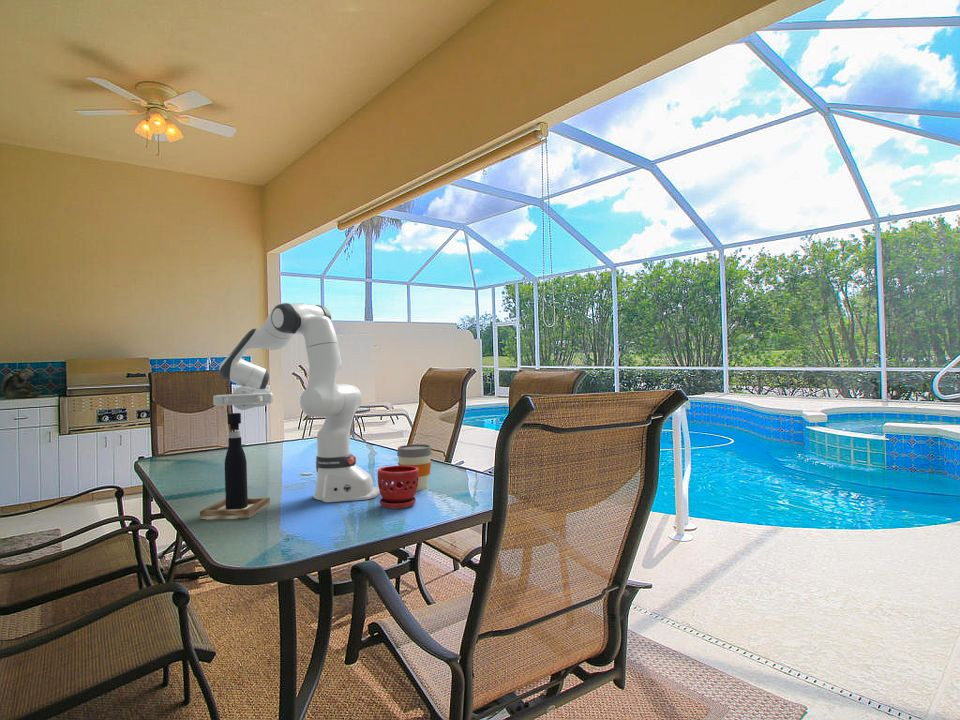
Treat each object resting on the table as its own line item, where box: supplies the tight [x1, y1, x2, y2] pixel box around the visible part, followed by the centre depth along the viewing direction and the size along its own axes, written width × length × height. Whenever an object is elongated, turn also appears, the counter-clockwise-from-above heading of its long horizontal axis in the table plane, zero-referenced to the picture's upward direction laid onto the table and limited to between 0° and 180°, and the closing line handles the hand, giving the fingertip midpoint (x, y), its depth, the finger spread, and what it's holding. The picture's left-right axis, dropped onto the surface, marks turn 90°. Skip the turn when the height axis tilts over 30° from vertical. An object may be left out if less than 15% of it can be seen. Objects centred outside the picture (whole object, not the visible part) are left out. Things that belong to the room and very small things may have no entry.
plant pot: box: [377, 465, 419, 510], centre depth 169 cm, size 13×13×12 cm
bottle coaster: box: [199, 497, 271, 520], centre depth 166 cm, size 15×15×2 cm
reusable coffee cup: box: [396, 443, 433, 492], centre depth 192 cm, size 13×13×15 cm
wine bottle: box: [224, 412, 249, 509], centre depth 168 cm, size 6×6×30 cm
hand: (243, 400), depth 189 cm, fingers open, 8 cm apart
